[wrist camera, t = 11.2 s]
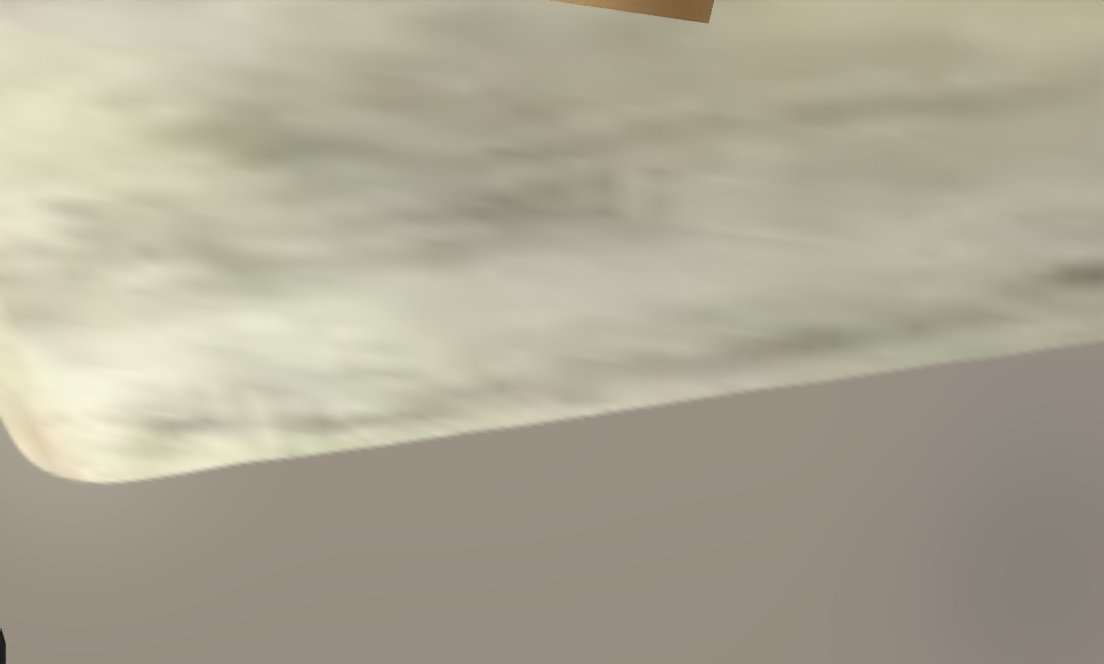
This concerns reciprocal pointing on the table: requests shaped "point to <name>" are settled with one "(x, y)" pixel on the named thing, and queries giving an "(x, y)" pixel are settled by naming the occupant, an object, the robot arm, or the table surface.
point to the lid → (657, 7)
